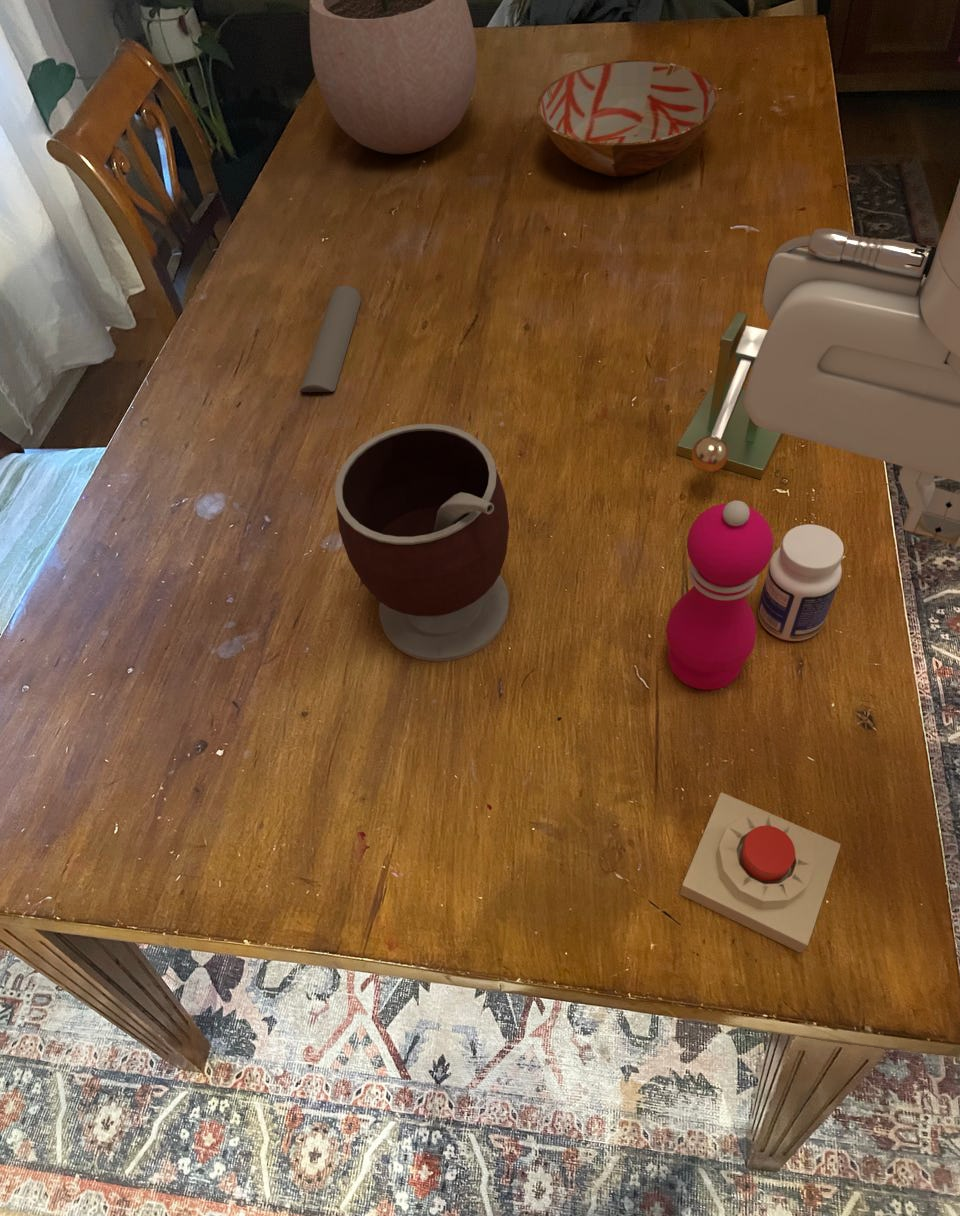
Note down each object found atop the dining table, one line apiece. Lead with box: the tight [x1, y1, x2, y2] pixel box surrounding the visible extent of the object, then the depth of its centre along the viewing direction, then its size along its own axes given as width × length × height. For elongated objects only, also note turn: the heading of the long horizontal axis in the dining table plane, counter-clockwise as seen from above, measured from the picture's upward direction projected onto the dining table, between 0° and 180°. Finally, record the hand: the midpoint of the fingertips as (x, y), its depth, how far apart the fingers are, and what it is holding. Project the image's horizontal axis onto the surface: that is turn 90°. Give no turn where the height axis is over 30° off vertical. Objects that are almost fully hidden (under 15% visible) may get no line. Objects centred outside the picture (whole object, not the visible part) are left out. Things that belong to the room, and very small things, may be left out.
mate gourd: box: [334, 423, 510, 663], centre depth 72 cm, size 16×14×20 cm
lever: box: [691, 325, 768, 473], centre depth 81 cm, size 14×3×3 cm
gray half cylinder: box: [299, 285, 362, 393], centre depth 105 cm, size 4×20×2 cm, turn 175°
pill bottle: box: [757, 523, 845, 642], centre depth 72 cm, size 6×6×10 cm
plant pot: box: [309, 0, 477, 155], centre depth 122 cm, size 24×24×30 cm
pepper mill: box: [665, 500, 774, 691], centre depth 66 cm, size 7×7×20 cm
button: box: [741, 826, 795, 881], centre depth 59 cm, size 3×3×2 cm
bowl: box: [535, 59, 719, 178], centre depth 122 cm, size 25×25×8 cm
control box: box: [679, 792, 841, 954], centre depth 61 cm, size 9×8×4 cm
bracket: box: [675, 311, 784, 480], centre depth 85 cm, size 11×9×13 cm
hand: (936, 529), depth 41 cm, fingers closed
